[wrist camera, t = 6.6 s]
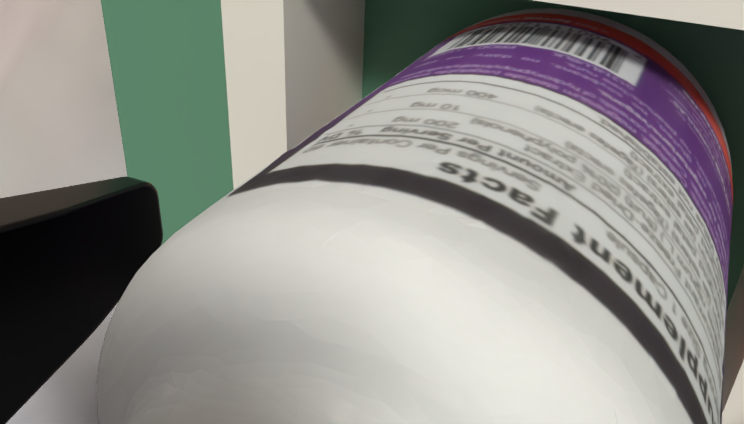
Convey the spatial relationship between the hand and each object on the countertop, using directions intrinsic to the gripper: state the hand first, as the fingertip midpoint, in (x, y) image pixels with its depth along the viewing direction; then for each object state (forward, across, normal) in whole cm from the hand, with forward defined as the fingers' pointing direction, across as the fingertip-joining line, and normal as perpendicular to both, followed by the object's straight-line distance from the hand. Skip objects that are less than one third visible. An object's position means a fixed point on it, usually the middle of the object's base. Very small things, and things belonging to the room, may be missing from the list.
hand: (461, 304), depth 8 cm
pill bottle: (+4, 0, 0) cm, 4 cm away
